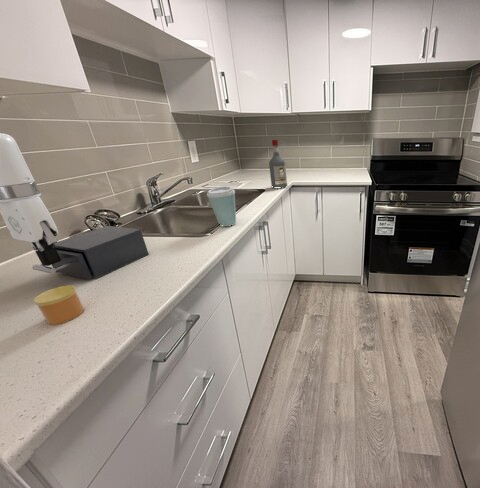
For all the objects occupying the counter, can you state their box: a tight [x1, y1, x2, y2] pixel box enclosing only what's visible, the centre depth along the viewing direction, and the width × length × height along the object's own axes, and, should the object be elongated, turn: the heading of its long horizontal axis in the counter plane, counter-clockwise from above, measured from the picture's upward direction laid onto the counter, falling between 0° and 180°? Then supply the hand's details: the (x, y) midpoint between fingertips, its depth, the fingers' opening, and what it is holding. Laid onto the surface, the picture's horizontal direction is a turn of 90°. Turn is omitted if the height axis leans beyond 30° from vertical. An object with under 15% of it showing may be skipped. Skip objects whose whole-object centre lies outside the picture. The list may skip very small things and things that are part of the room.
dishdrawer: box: [54, 225, 150, 280], centre depth 78 cm, size 16×15×9 cm
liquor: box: [268, 139, 288, 188], centre depth 172 cm, size 9×9×30 cm
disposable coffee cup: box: [206, 185, 237, 227], centre depth 106 cm, size 11×11×15 cm
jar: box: [33, 285, 85, 326], centre depth 55 cm, size 6×6×6 cm
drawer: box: [31, 248, 92, 280], centre depth 74 cm, size 19×13×7 cm
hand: (52, 263), depth 67 cm, fingers closed
